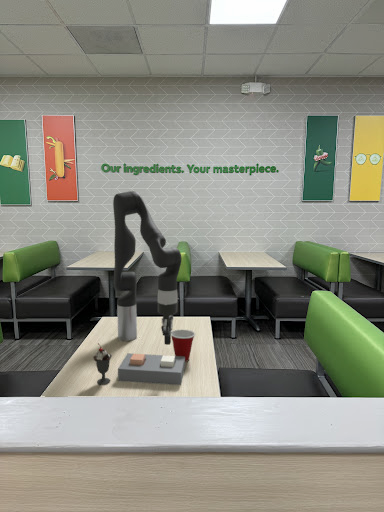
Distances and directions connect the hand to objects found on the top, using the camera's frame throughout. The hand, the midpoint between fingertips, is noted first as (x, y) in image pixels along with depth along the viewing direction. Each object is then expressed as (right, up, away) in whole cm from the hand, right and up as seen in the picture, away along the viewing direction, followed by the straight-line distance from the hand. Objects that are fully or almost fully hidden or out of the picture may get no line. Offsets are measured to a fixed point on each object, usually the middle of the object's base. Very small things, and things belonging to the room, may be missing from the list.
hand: (167, 343), depth 130 cm
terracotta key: (-12, -10, +3) cm, 16 cm away
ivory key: (0, -10, +2) cm, 10 cm away
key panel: (-6, -13, +3) cm, 14 cm away
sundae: (-24, -14, -3) cm, 28 cm away
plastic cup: (+5, -11, +16) cm, 20 cm away
